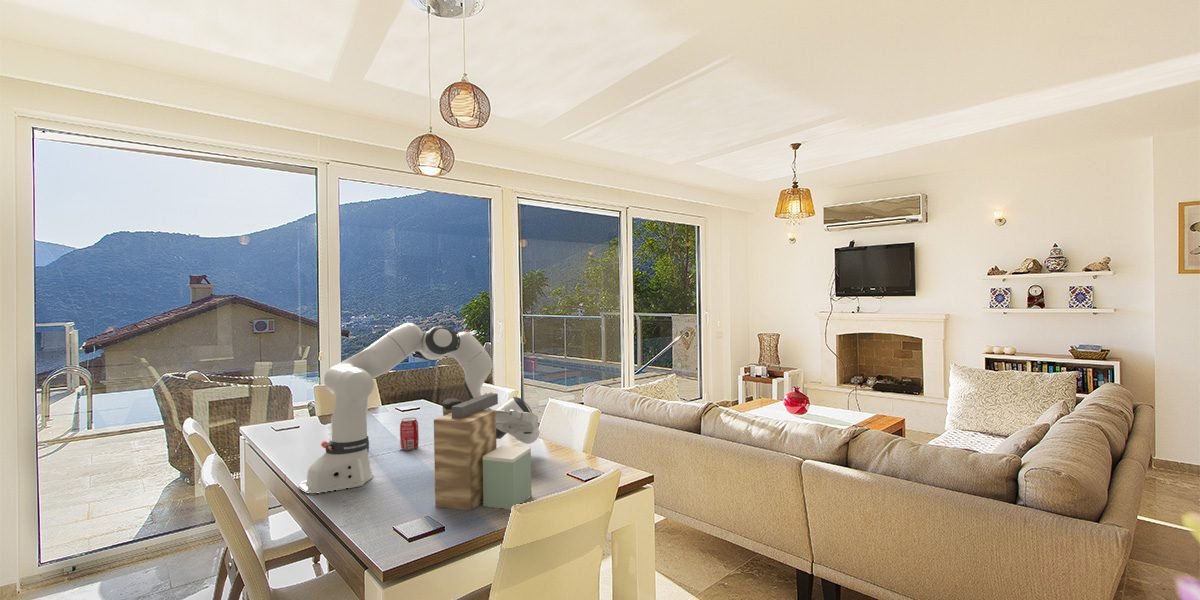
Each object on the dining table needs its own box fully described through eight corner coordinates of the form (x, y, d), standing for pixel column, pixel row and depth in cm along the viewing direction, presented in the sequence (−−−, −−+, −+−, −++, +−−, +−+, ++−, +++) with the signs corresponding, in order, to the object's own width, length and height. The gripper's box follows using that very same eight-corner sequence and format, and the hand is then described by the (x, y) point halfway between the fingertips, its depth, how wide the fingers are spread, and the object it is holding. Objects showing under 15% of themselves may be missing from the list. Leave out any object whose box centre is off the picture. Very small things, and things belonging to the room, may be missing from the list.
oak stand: (470, 510, 163) (468, 422, 162) (435, 505, 167) (433, 419, 166) (497, 491, 178) (495, 410, 177) (464, 487, 182) (463, 408, 181)
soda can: (412, 444, 232) (411, 416, 232) (422, 447, 227) (421, 418, 227) (396, 448, 226) (396, 419, 226) (406, 452, 222) (406, 422, 222)
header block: (513, 510, 163) (512, 459, 162) (483, 506, 166) (482, 456, 166) (531, 495, 174) (530, 447, 174) (502, 492, 177) (502, 445, 177)
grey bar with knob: (461, 418, 166) (461, 404, 166) (451, 418, 168) (451, 404, 167) (497, 403, 187) (497, 391, 187) (488, 403, 188) (488, 390, 188)
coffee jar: (467, 443, 233) (466, 399, 232) (448, 447, 228) (447, 401, 228) (458, 438, 241) (458, 395, 240) (440, 441, 236) (440, 398, 236)
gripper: (492, 412, 208) (475, 400, 197) (542, 416, 202) (527, 404, 190) (487, 429, 205) (470, 417, 194) (538, 433, 199) (523, 422, 187)
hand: (499, 411), depth 192 cm, fingers open, 8 cm apart
